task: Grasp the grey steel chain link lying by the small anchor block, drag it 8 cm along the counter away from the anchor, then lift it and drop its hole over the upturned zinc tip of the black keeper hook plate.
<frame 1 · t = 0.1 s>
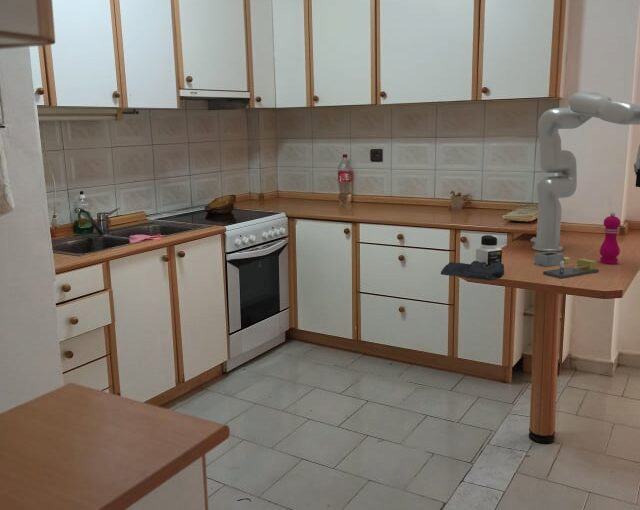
link: (548, 264, 251), on the table
dark grey cloth: (472, 275, 237), on the table
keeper: (571, 273, 236), on the table
pepper mill: (608, 263, 253), on the table
anchor: (561, 262, 254), on the table
medicine bottle: (488, 266, 248), on the table
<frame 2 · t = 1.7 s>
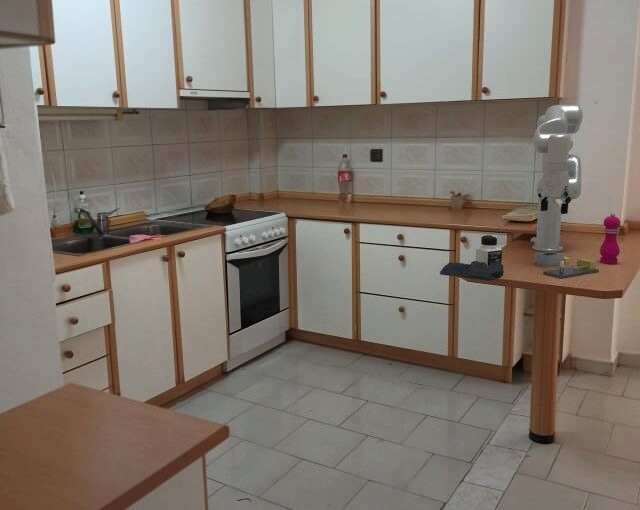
hand: (553, 212, 247), 20 cm above the table, tool pointing down, fingers open, 9 cm apart
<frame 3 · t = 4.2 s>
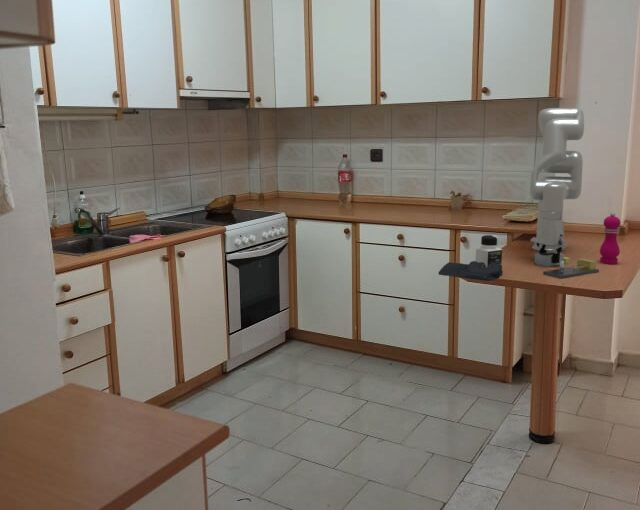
hand: (549, 261, 251), 1 cm above the table, tool pointing down, fingers closed on link, 6 cm apart
link: (548, 264, 251), on the table, touching gripper
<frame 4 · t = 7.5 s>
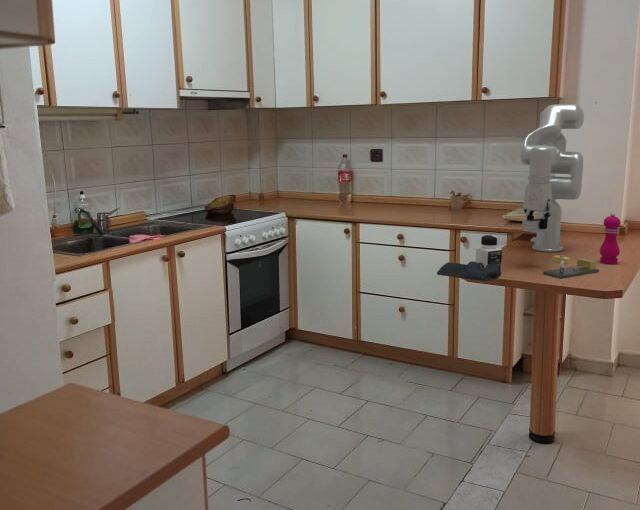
hand: (536, 227, 244), 15 cm above the table, tool pointing down, fingers closed on link, 6 cm apart
link: (536, 230, 245), point 14 cm above the table, touching gripper
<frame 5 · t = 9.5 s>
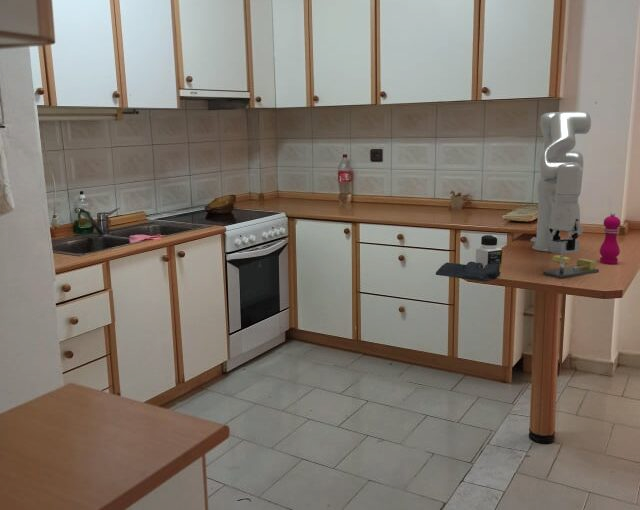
hand: (563, 248, 231), 10 cm above the table, tool pointing down, fingers closed on link, 6 cm apart
link: (563, 251, 232), point 9 cm above the table, touching gripper
when the fingers open (4 cm above the table, at t = 11.0 s): link drops 2 cm, resting on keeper.
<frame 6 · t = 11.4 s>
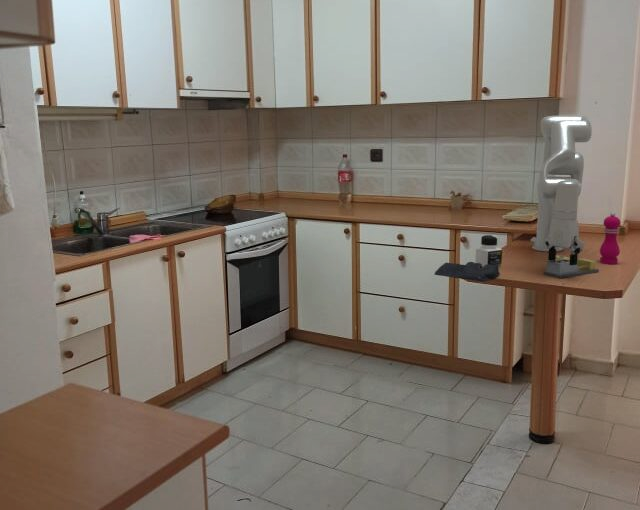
hand: (562, 262, 233), 5 cm above the table, tool pointing down, fingers open, 9 cm apart
link: (561, 272, 234), point 1 cm above the table, touching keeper
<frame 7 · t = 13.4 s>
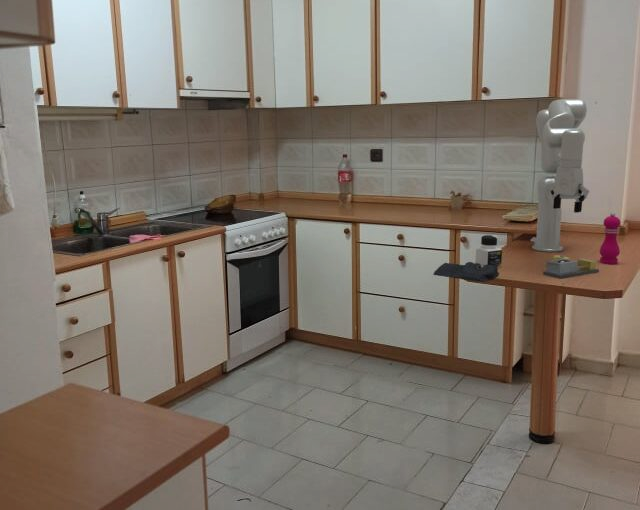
hand: (567, 210, 240), 22 cm above the table, tool pointing down, fingers open, 9 cm apart
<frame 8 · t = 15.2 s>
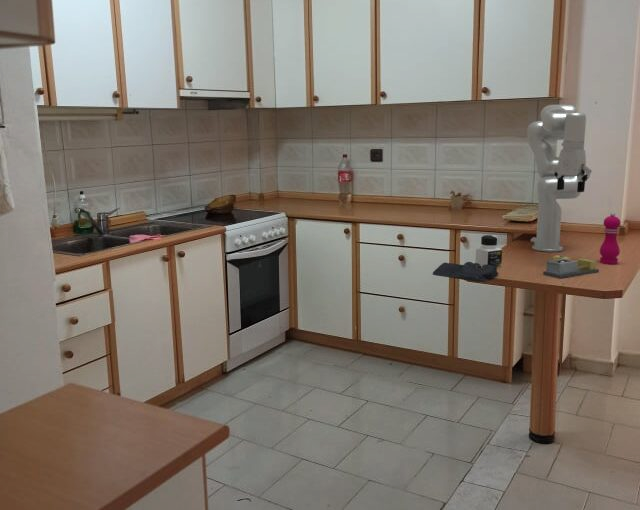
hand: (570, 190, 248), 28 cm above the table, tool pointing down, fingers open, 9 cm apart
at the end: link 0.1 cm from the target spot on the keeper, point 1.0 cm above the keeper's base; the gripper is holding nothing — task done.
